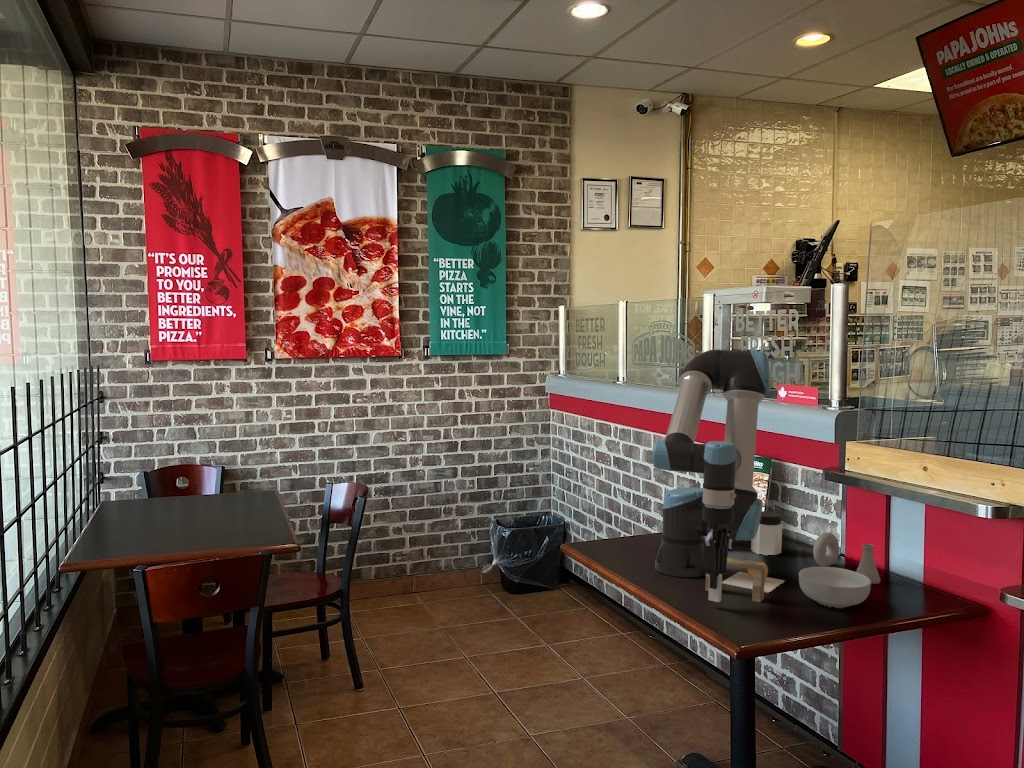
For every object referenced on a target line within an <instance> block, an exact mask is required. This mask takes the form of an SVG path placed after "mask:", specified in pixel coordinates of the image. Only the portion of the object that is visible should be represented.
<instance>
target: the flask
mask: <svg viewBox="0 0 1024 768" xmlns="http://www.w3.org/2000/svg"><path fill="white" fill-rule="evenodd" d="M861 545H862V547H861V548H862V555H861V559H860V561H859V563H858V566H857V568H856V571H855V572H857V573H860V574H862V575H864V576H866V577H868V578H869V579H870V581H871V585H873V584H874V585H876V584H878V585H879V584H880V583H881V582H882V581H881V578H880V574H879V571H878V569H877V565H876V561H875V558H874V557H875V556H874V549H875V547H876V545H874V544H871V543H862V544H861Z"/></svg>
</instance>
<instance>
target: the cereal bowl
mask: <svg viewBox="0 0 1024 768" xmlns="http://www.w3.org/2000/svg"><path fill="white" fill-rule="evenodd" d="M798 582H799V587H800V589H801V591H802V592H803V594H804V595H805V596H807V598H809V599H811V600H813V601H815V602H817V603H818V604H819V605H820V606H821V605H822V606H823V605H824V606H823V607H826V606H828V607H827V608H831V607H835V608H834V609H846V608H845V607H847V608H849V607H852V606H856V605H859V604H861V603H863V602H864V601H865V600H867V598H868V596H869V595H870V592H871V587H872V584H871V581H870V579H869V578H868V577H866V576H864V575H862V574H860V573H857V572H856V571H854V570H850V569H847V568H840V567H833V566H828V567H823V566H811V567H805V568H802V569H800V570H799V573H798Z"/></svg>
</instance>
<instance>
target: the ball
mask: <svg viewBox="0 0 1024 768" xmlns="http://www.w3.org/2000/svg"><path fill="white" fill-rule="evenodd" d="M752 561H753V562H759V563H764V564H765V577H768V573H769V568H768V565H767V563H765V562H764V561H763V560H759V559H754V560H752ZM746 570H747V572H746V573H748V574H749V576H750V577H751V578H752V579H753V569H748V568H746Z"/></svg>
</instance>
